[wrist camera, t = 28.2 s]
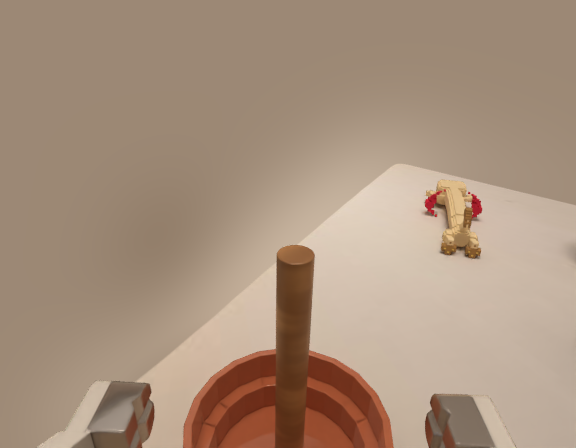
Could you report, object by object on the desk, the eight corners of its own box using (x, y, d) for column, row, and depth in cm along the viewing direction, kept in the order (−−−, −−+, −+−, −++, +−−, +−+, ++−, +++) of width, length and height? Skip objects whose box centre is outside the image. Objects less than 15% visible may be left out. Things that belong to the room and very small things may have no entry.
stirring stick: (269, 468, 32) (269, 254, 23) (287, 449, 34) (294, 240, 25) (289, 488, 31) (297, 268, 22) (307, 467, 32) (322, 253, 23)
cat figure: (491, 267, 63) (471, 196, 84) (506, 219, 59) (482, 157, 80) (425, 257, 66) (422, 191, 86) (435, 211, 61) (429, 152, 82)
